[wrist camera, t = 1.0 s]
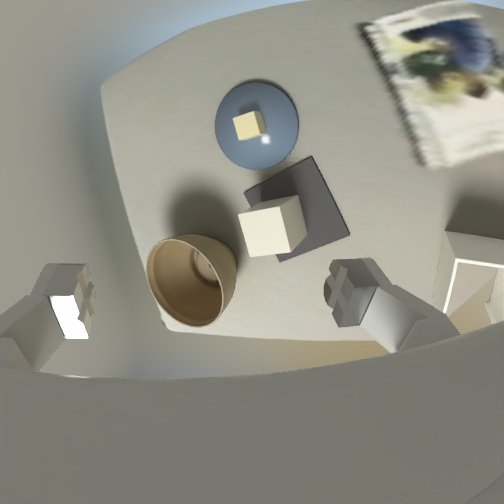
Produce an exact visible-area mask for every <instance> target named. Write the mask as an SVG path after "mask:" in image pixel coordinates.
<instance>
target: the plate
mask: <svg viewBox="0 0 504 504" xmlns="http://www.w3.org/2000/svg"><path fill="white" fill-rule="evenodd" d="M252 111H258V112H261V115H262V118H263V122H264V125H265V129H266V132H267V134H264V135H261V136H257V137H254V138H251V139H248V140H239V139H238V136H237V132H236V128H235V125H234V121H233V118H235V117H238V116H241V115H243V114H246V113H249V112H252ZM298 133H299V119H298V114H297V112H296V109H295V107H294V105H293V103H292V101H291V100H290V99H289V98H288V96H287V95H286V94H285V93H283V92H282V91H281V90H279V89H278V88H276V87H273V86H271V85H268V84H264V83H247V84H244V85H241V86H239V87H237V88H235V89H234V90H232V91H231V92H230V93H229V94H228V95H227V96H226V97H225V98H224V99H223V101H222V102H221V104H220V106H219V108H218V111H217V114H216V118H215V134H216V138H217V141H218V144H219V146H220V148H221V150H222V151H223V153H224V154H225V155H226V156H227V157H228V158H229V159H230V160H231V161H232V162H233V163H235V164H237V165H238V166H241V167H243V168H246V169H252V170H260V169H266V168H269V167H272V166H274V165H277V164H278V163H280V162H281V161H283V160H284V159H285V158H286V157H287V156H288V155H289V154H290V152H291V151H292V149H293V148H294V146H295V144H296V141H297V138H298Z"/></svg>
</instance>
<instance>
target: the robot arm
mask: <svg viewBox="0 0 504 504" xmlns="http://www.w3.org/2000/svg"><path fill="white" fill-rule="evenodd" d="M329 270H330V272H331V275H330V276H329V277H328V278H327V279H326V280H325V284H324V297H325V301H326V303H327V305H328V306H330V307H331V308H333V312H332V315H333V317H334V319H335V321H336V323H337V325H338V327H349V326H358V325H360V326H359V327H361V328H362V329H363V330H364V331H365V332H367V333H368V334H369V335H370V336H371V337H373V338H374V339H375V340H376V341H377V342H379V343H380V344H381V345H382V346H383V347H384V348H386V349H387V350H388V351H390V353H389V354H384V355H380V356H375V357H370V358H365V359H360V360H355V361H349V362H344V363H338V364H332V365H325V366H319V367H312V368H305V369H298V370H290V371H282V372H273V373H263V374H253V375H241V376H228V377H212V378H188V379H120V378H99V377H82V376H69V375H59V374H50V373H41V372H38V371H39V370H40V369H41V368H42V367H43V365H44V364H45V363H46V362H47V360H48V359H49V358H50V357H51V356H52V354H53V353H54V352H55V351H56V350H57V349H58V347H59V346H60V345H61V344H62V343H63V342H64V340H65V338H88V337H89V333H90V329H91V325H92V322H91V319H90V316H91V315H92V314H94V312H95V307H96V292H95V288H94V285H93V284H92V283H91V282H90V281H89V279H90V276H91V272H90V269H89V266H88V265H87V264H63V263H61V264H55V263H53V264H52V263H48V264H46V265H45V266H44V268H43V270H42V272H41V274H40V276H39V278H38V280H37V282H36V284H35V286H34V288H33V290H32V292H31V294H30V296H28V295H27V296H25V297H24V298H22V299H21V300H20V301H18V302H17V303H16V304H15V305H13V306H12V307H11V308H9V309H8V310H7V311H6V312H4V313H3V314H2V315H0V504H504V321H501V322H498V323H495V324H492V325H490V326H487V327H484V328H481V329H478V330H474V331H471V332H468V333H465V334H462V335H460V334H459V332H458V331H457V329H456V328H455V326H454V325H453V324H452V322H451V321H450V319H449V318H448V317H447V315H446V314H445V313H443V312H441V311H440V310H438V309H436V308H435V307H433V306H431V305H430V304H428V303H426V302H425V301H423V300H421V299H419V298H418V297H416V296H414V295H413V294H411V293H409V292H407V291H406V290H404V289H402V288H401V287H399V286H397V285H392V284H391V282H390V281H389V279H388V278H387V277H386V275H385V274H384V273H383V271H382V270H381V269H380V267H379V266H378V265H377V263H376V262H375V261H374V260H373V259H372V258H358V259H338V260H333V261H332V262H331V264H330V267H329Z"/></svg>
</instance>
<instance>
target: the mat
mask: <svg viewBox="0 0 504 504" xmlns="http://www.w3.org/2000/svg"><path fill="white" fill-rule="evenodd" d="M244 195H245V197H246V199H247V201H248V203H249V204H250V206H251V207H253V206H255V205H257V204H258V203H260V202H264V201H269V200H274V199H279V198H284V197H289V196H294V195H298V196H299V200H300V204H301V208H302V213H303V217H304V221H305V225H306V229H307V236H306V237H305V238H304V239H303V240H302V241H301V242H300V243H299V244H298V245H297V246H296V247H295V248H294V250H293V251H292V252H289V253H281V254H276V256H277V258H278V260H279V262H282V261H285V260H288V259H290V258H293V257H295V256H298V255H301V254H303V253H306V252H308V251H311V250H314V249H316V248H319V247H321V246H324V245H326V244H329V243H332V242H334V241H337V240H339V239H342V238H344V237H347V236H349V235H350V234H349V231H348V229H347V227H346V225H345V223H344V220H343V218H342V216H341V214H340V212H339V210H338V208H337V206H336V204H335V202H334V200H333V197H332V195H331V193H330V191H329V189H328V187H327V185H326V183H325V181H324V179H323V177H322V176H321V174H320V172H319V170H318V168H317V166H316V164H315V162H314V160H313V158H312V157H310V158H309V159H307V160H305V161H303V162H301V163H299V164H297V165H295V166H293V167H291V168H289V169H287V170H286V171H284V172H282V173H280V174H278V175H276V176H274V177H272V178H271V179H269V180H267V181H265V182H263V183H261V184H260V185H258V186H256V187H254V188H252V189H250V190H249V191H247V192H245V193H244Z"/></svg>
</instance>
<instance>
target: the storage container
mask: <svg viewBox="0 0 504 504" xmlns="http://www.w3.org/2000/svg"><path fill="white" fill-rule="evenodd" d="M458 262H464V263H471V264H477V265H484V266H491V267H498V268H499V269H498V272H497V275H496V279H495V282H494V286H493V290H492V293H491V296H490V300H489V302H485V306H486V309H487V312H488V314H489V317H490V320H491V323H492V324H495V323H498V322H501V321H504V240H501V239H495V238H489V237H483V236H477V235H470V234H463V233H457V232H450V231H444V237H443V243H442V250H441V255H440V261H439V266H438V271H437V276H436V281H435V286H434V290H433V294H432V302H433V307H435V308H436V309H438V310H440V311H441V312H443V313H446V309H447V306H448V302H449V298H450V294H451V290H452V286H453V282H454V278H455V273H456V269H457V264H458Z"/></svg>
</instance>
